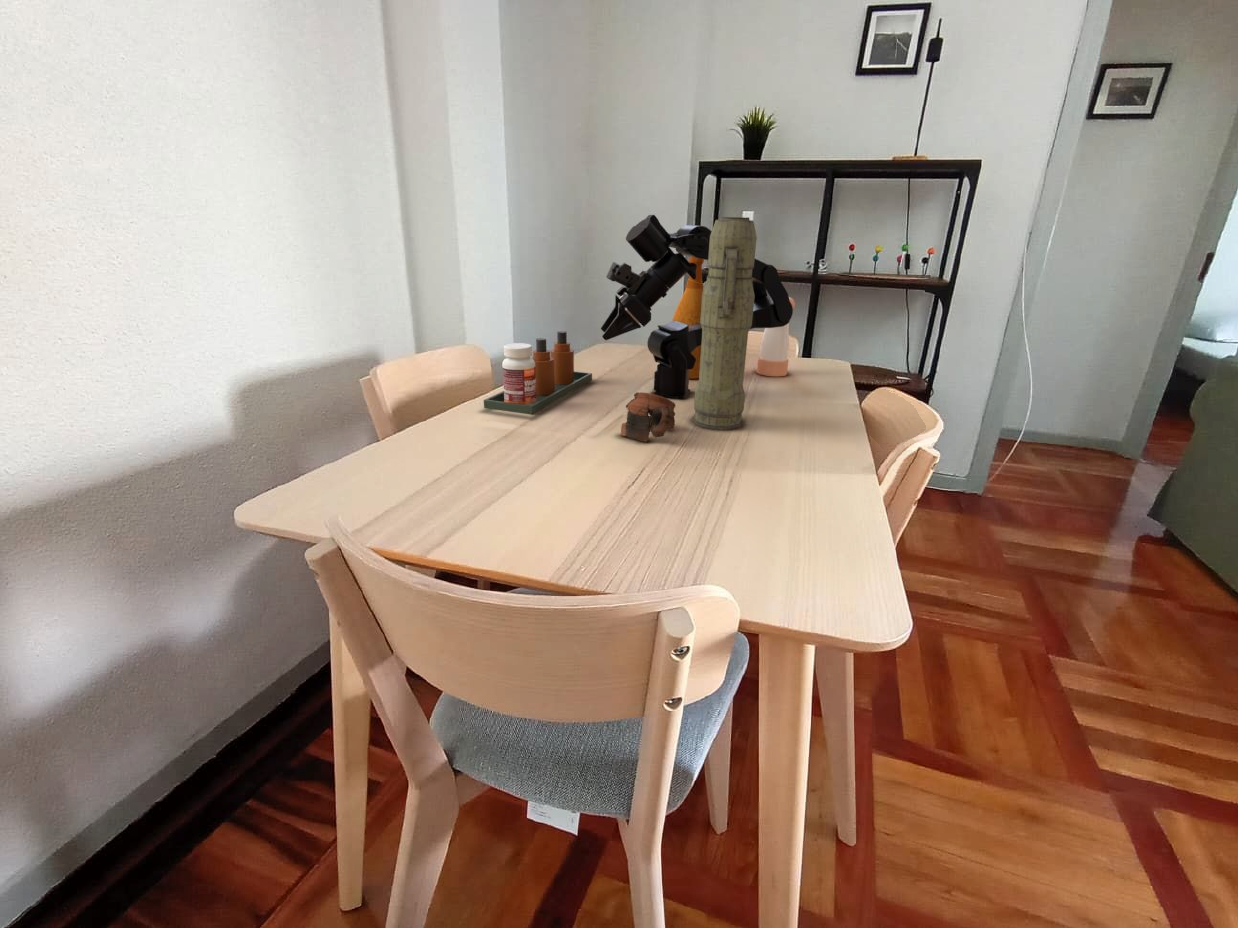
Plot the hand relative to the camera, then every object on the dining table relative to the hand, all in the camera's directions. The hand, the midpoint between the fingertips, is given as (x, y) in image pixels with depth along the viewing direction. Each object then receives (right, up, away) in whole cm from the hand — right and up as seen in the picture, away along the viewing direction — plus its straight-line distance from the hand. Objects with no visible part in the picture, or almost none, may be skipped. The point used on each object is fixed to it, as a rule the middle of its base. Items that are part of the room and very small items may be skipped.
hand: (603, 334), depth 123 cm
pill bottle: (-16, -15, -6) cm, 22 cm away
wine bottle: (+20, -5, +22) cm, 30 cm away
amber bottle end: (-9, -8, +11) cm, 16 cm away
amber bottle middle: (-13, -11, +2) cm, 17 cm away
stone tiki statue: (+21, -19, -11) cm, 30 cm away
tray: (-13, -12, +3) cm, 18 cm away
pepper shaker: (+41, -4, +26) cm, 48 cm away
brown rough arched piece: (+9, -21, -18) cm, 30 cm away
